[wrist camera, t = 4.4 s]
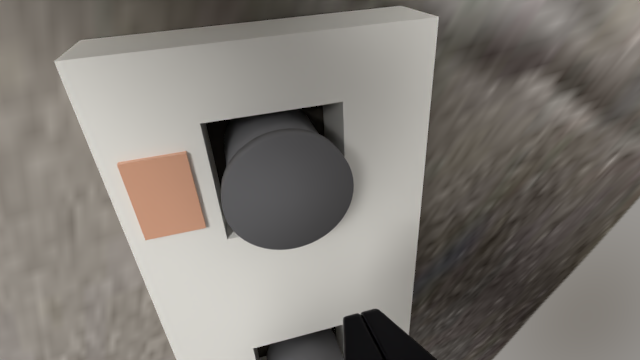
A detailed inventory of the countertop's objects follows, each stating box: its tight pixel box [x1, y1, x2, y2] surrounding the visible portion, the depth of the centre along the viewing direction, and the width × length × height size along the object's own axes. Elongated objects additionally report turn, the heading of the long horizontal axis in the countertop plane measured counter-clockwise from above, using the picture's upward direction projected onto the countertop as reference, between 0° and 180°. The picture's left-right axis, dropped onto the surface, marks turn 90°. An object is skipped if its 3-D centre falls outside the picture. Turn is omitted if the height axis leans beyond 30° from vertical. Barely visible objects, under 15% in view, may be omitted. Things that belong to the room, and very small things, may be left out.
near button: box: [221, 108, 354, 250], centre depth 15 cm, size 5×5×4 cm
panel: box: [54, 6, 439, 360], centre depth 19 cm, size 22×12×3 cm, turn 3°
